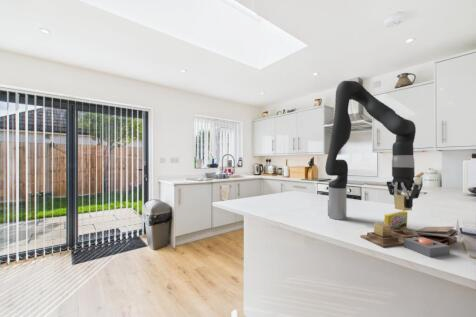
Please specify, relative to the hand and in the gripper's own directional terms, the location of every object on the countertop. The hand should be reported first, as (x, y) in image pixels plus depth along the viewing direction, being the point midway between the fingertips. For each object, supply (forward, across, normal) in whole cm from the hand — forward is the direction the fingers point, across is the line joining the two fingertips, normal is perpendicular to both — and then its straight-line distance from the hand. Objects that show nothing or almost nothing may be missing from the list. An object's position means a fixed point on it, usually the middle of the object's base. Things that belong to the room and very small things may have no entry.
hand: (403, 206), depth 89 cm
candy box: (+14, -9, +7) cm, 18 cm away
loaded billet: (+13, 0, -11) cm, 17 cm away
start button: (+13, +11, -3) cm, 17 cm away
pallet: (+13, 0, -5) cm, 14 cm away
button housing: (+14, +11, -3) cm, 18 cm away
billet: (+1, 0, 0) cm, 1 cm away
